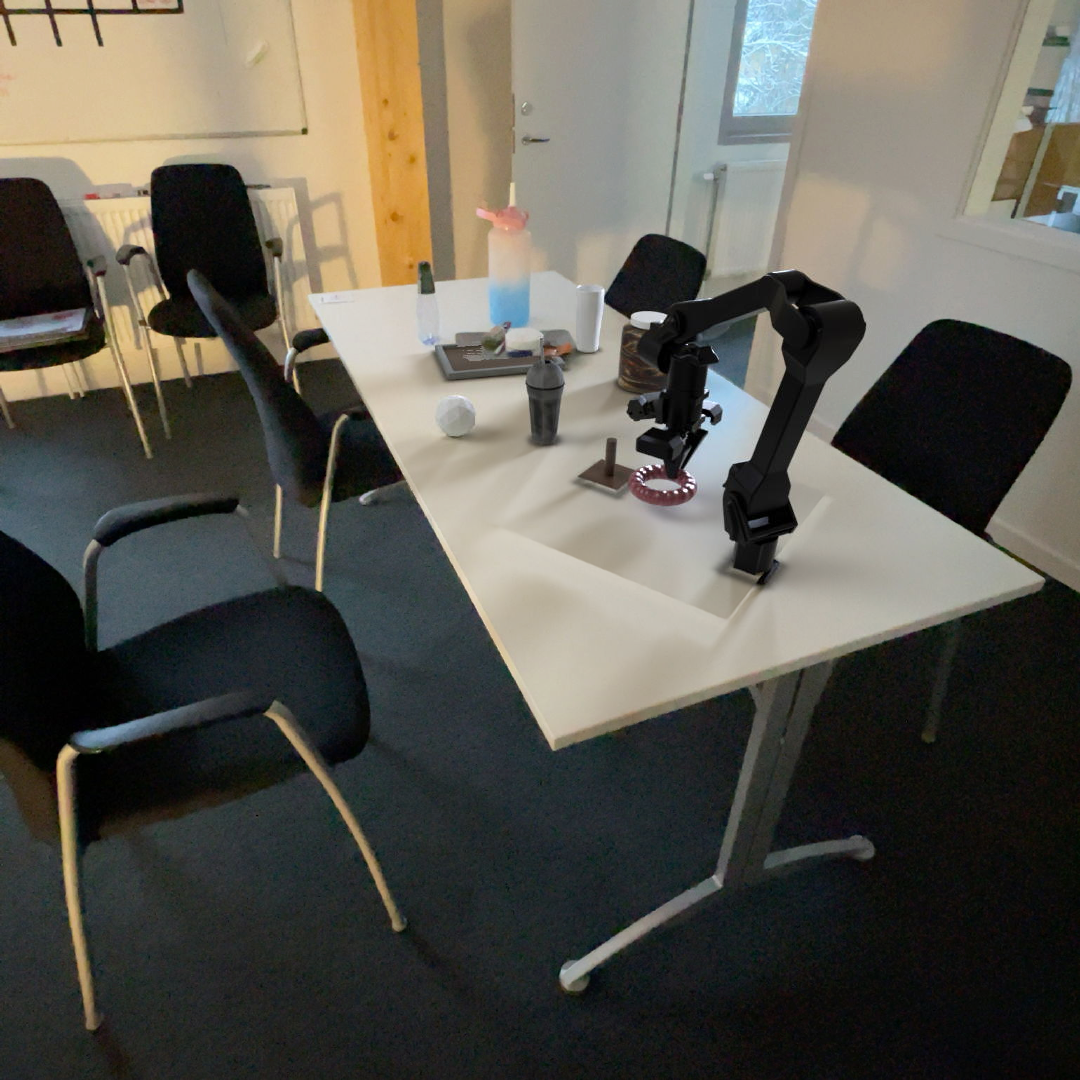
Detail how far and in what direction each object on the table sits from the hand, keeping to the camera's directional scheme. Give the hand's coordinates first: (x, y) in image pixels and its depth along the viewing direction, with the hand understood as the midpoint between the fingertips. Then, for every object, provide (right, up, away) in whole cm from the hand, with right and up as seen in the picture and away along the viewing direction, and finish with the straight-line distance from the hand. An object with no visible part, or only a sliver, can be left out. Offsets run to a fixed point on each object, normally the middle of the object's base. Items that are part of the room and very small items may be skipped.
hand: (674, 475), depth 121 cm
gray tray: (-30, +32, +56) cm, 71 cm away
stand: (-10, 0, +8) cm, 13 cm away
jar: (+1, +24, +44) cm, 50 cm away
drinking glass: (-10, +36, +62) cm, 73 cm away
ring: (-2, -2, -3) cm, 4 cm away
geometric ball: (-38, +10, +22) cm, 45 cm away
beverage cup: (-21, +8, +21) cm, 31 cm away
